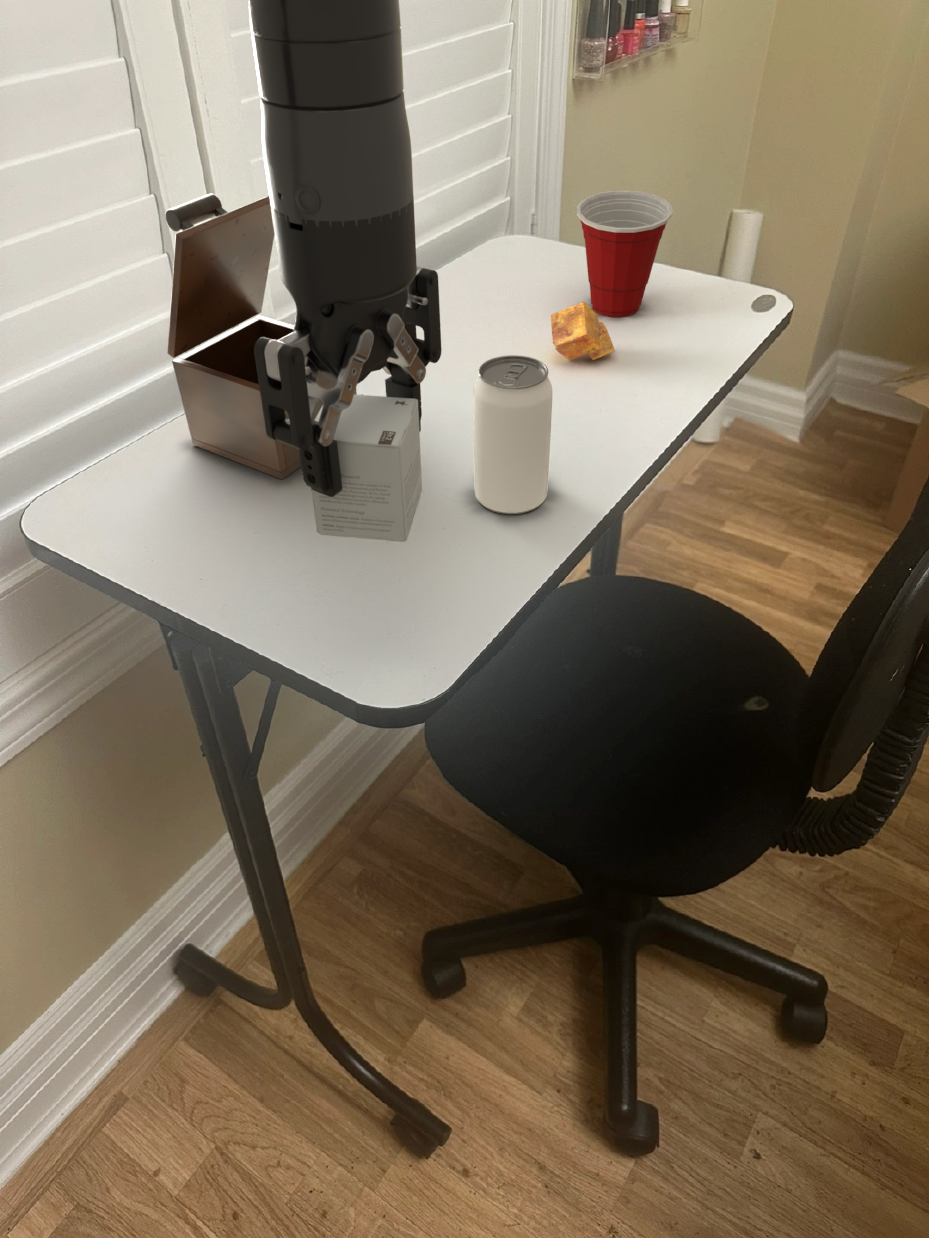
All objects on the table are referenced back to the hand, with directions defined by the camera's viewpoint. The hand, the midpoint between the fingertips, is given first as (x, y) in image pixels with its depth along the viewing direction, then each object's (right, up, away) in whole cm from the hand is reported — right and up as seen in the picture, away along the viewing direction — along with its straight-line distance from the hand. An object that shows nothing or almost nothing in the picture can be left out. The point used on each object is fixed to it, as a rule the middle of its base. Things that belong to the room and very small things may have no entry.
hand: (366, 460), depth 58 cm
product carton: (0, -3, +3) cm, 4 cm away
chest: (-12, +8, +31) cm, 34 cm away
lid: (-15, +20, +22) cm, 34 cm away
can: (+10, +1, +23) cm, 25 cm away
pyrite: (+19, +19, +42) cm, 50 cm away
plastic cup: (+25, +27, +52) cm, 64 cm away
